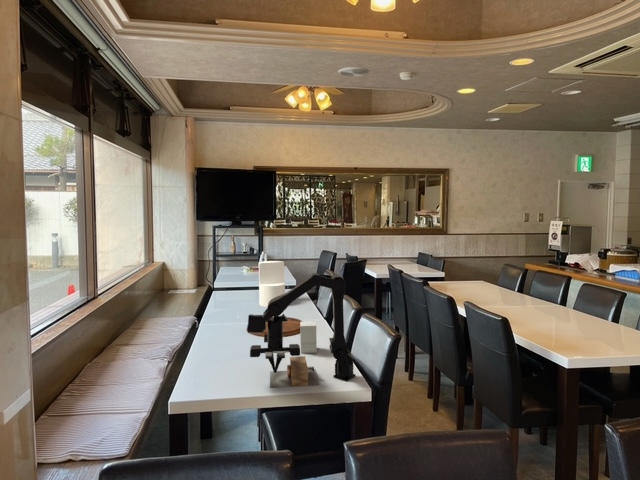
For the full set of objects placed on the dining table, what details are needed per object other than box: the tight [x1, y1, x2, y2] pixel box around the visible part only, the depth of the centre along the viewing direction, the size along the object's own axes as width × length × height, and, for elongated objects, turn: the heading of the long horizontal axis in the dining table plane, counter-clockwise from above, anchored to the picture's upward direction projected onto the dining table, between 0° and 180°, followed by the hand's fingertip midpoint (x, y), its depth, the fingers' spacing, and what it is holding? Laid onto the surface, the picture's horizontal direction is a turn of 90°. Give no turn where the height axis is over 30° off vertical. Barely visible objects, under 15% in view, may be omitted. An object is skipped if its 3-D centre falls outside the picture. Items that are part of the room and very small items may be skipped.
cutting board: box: [246, 316, 304, 338], centre depth 227 cm, size 32×32×2 cm
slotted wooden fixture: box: [269, 355, 320, 389], centre depth 161 cm, size 18×14×6 cm
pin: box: [286, 364, 315, 378], centre depth 161 cm, size 10×5×5 cm, turn 97°
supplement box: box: [299, 321, 318, 354], centre depth 192 cm, size 7×7×13 cm
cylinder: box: [258, 260, 286, 308], centre depth 281 cm, size 17×17×28 cm
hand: (275, 372), depth 160 cm, fingers closed
